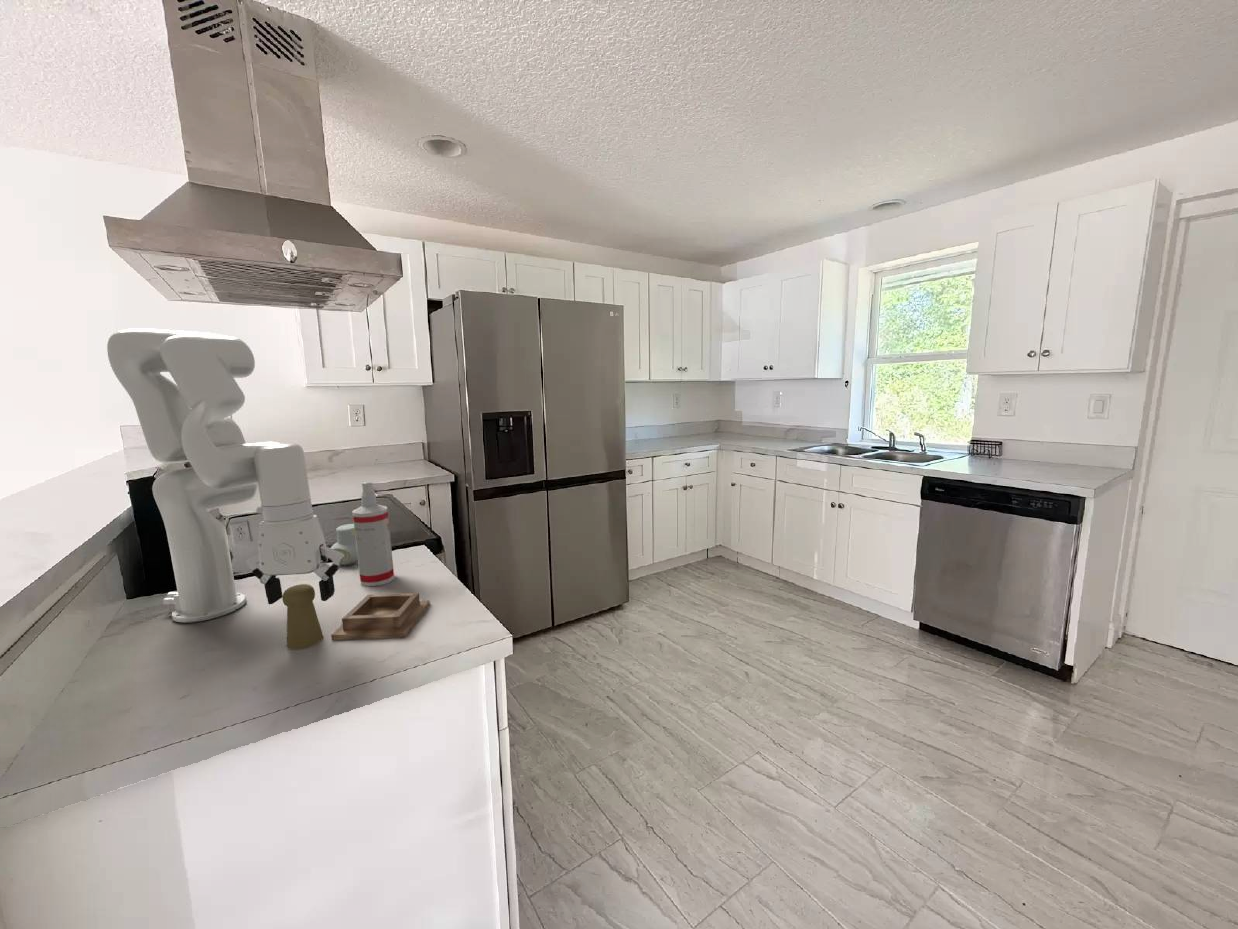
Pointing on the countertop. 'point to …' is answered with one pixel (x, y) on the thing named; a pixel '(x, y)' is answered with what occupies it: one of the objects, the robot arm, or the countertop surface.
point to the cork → (301, 617)
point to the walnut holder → (382, 617)
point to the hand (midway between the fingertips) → (301, 599)
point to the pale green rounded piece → (346, 544)
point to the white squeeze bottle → (373, 540)
